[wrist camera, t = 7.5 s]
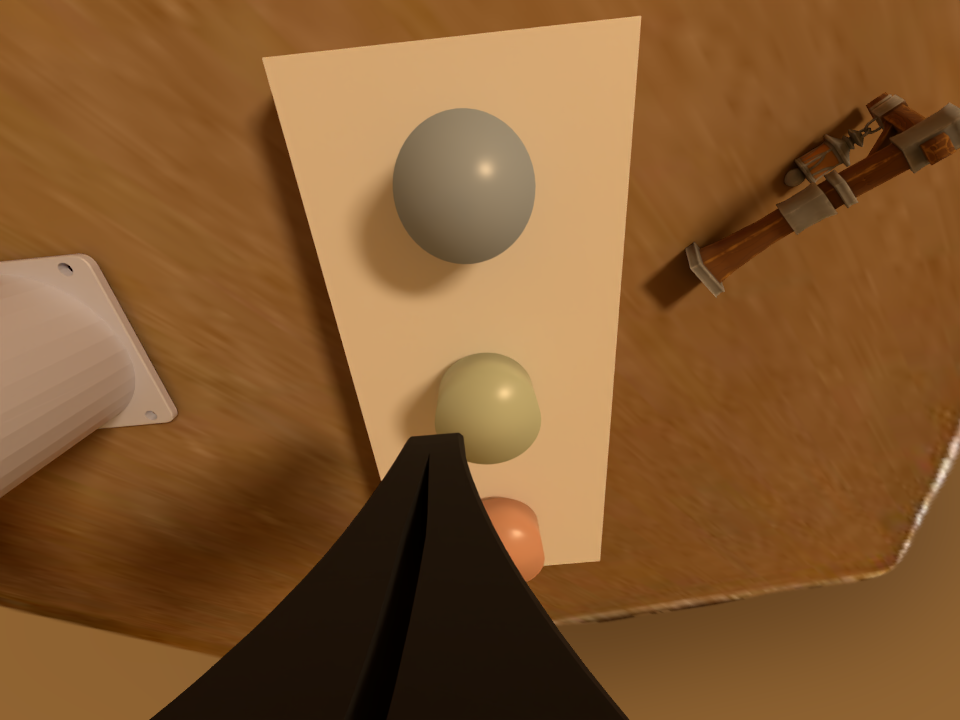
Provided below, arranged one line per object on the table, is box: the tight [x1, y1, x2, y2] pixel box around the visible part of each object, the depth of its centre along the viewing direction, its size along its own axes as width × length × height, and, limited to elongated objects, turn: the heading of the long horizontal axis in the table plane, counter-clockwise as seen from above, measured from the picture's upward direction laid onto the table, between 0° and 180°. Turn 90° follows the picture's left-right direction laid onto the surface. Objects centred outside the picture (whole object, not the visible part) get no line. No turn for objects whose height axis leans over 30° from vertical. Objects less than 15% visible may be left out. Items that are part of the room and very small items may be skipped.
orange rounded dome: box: [482, 498, 545, 582], centre depth 19 cm, size 4×4×2 cm
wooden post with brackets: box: [685, 92, 960, 297], centre depth 14 cm, size 2×8×4 cm, turn 139°
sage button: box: [435, 353, 541, 465], centre depth 15 cm, size 4×4×2 cm
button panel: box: [262, 16, 641, 566], centre depth 17 cm, size 11×24×2 cm, turn 5°
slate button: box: [393, 108, 536, 264], centre depth 12 cm, size 4×4×2 cm
